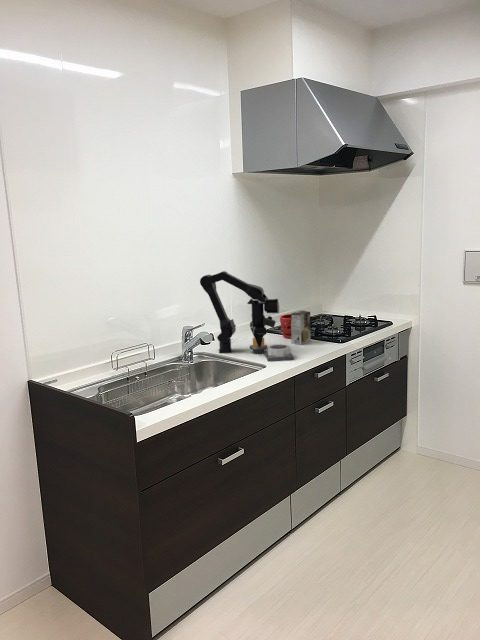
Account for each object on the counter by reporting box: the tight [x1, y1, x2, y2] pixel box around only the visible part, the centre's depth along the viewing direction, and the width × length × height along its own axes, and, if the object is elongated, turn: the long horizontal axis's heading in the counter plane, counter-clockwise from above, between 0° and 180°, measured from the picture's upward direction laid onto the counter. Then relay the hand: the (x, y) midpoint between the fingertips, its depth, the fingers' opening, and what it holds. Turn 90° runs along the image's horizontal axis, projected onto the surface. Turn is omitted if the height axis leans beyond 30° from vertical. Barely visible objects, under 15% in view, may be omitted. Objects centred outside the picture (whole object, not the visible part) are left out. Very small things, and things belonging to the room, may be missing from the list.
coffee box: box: [290, 310, 312, 346], centre depth 280 cm, size 9×6×16 cm
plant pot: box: [279, 313, 292, 340], centre depth 294 cm, size 13×13×12 cm
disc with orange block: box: [249, 336, 268, 355], centre depth 264 cm, size 9×9×7 cm
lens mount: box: [263, 343, 295, 362], centre depth 253 cm, size 12×12×5 cm
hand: (258, 344), depth 264 cm, fingers open, 9 cm apart
